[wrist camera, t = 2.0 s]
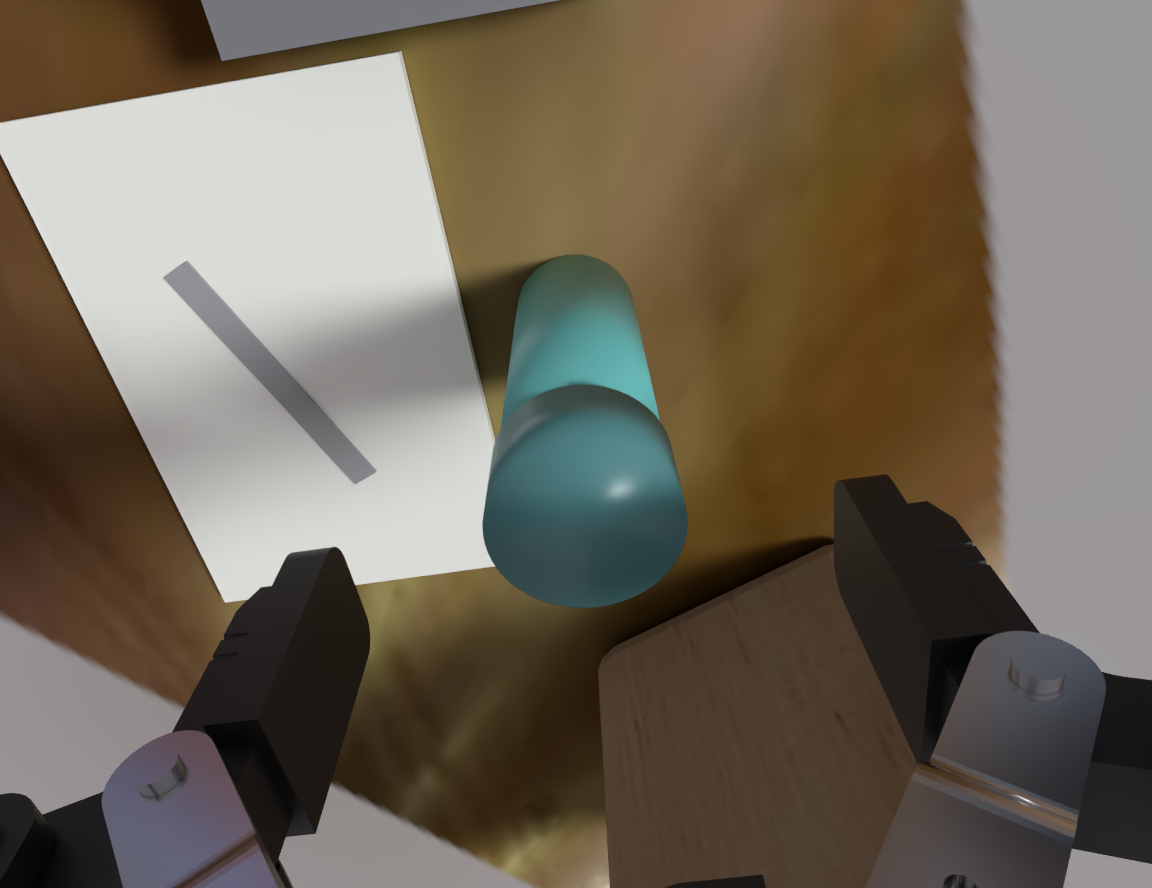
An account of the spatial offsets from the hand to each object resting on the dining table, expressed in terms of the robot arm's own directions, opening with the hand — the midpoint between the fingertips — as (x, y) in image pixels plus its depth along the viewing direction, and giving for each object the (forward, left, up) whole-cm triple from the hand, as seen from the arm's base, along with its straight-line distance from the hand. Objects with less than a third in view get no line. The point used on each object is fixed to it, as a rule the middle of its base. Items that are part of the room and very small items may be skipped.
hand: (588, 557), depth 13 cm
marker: (0, 0, -10) cm, 10 cm away
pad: (0, -8, -10) cm, 13 cm away
